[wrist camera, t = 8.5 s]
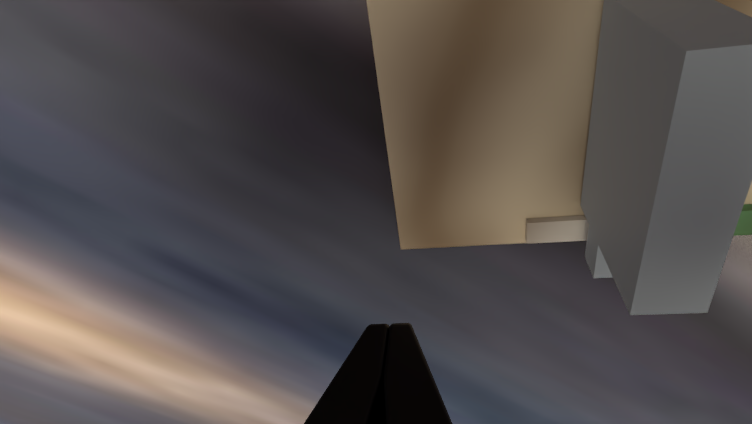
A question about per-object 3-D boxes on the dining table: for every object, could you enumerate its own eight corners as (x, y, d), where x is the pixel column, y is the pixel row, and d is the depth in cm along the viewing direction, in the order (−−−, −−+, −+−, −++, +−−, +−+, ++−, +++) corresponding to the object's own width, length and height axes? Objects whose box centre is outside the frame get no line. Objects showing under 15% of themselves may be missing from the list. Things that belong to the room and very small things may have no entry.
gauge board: (1154, -162, 12) (1637, -182, 7) (935, 204, 18) (1119, 326, 14) (363, -49, 15) (333, -9, 10) (401, 234, 21) (394, 344, 16)
